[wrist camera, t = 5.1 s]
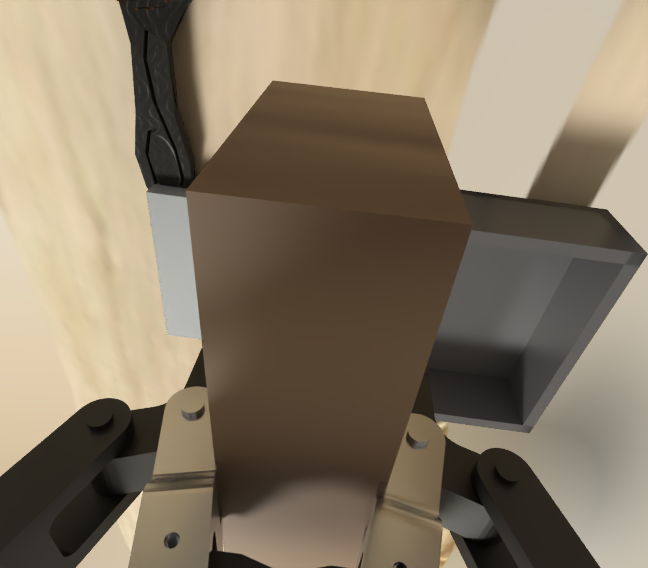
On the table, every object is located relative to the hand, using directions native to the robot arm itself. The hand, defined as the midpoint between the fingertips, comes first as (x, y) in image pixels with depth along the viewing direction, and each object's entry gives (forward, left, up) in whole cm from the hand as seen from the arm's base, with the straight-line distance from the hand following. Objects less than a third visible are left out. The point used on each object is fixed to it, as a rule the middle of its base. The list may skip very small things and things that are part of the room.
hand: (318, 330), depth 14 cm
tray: (+9, +11, -16) cm, 21 cm away
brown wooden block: (0, 0, 0) cm, 1 cm away
